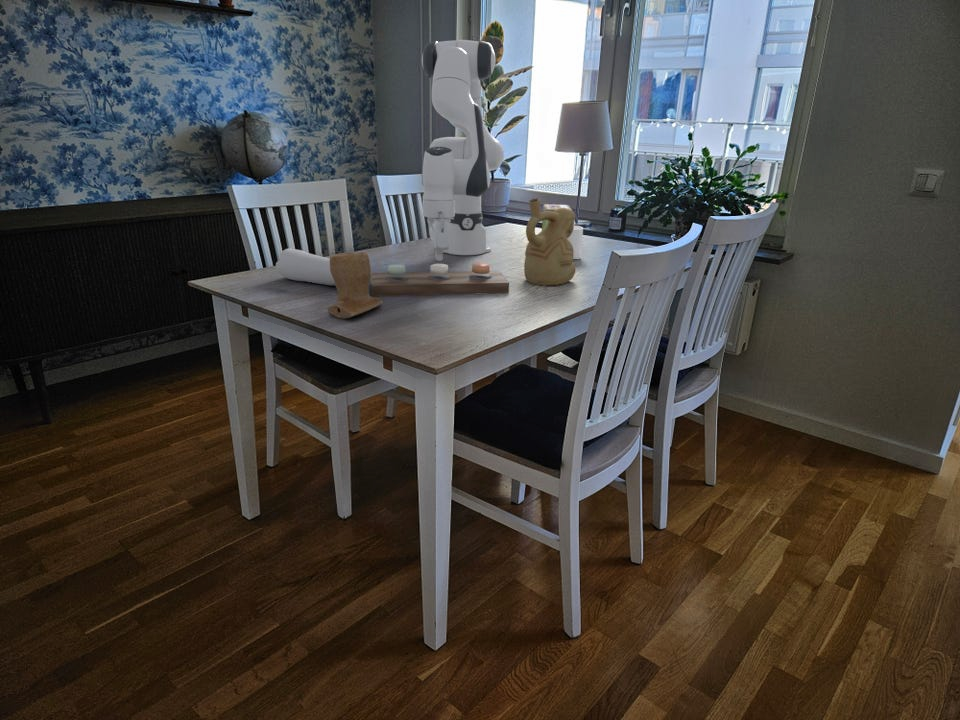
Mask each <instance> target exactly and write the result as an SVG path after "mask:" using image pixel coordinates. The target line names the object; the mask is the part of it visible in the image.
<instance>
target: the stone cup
mask: <svg viewBox="0 0 960 720" xmlns="http://www.w3.org/2000/svg"><path fill="white" fill-rule="evenodd" d="M329 259H330V271H331V274H332V277H333V279H334V282H335V285H336V286H335V288H336V290H337V293H338V294H337V295H338V299H337V301H335V302H334V303H333V304H331V305H329V306H327V307H326V310H327V311H328V312H329V313H330V314H331V315H333V316H334V317H336V318H338V319H350V318H352V317H354V316H358V315H360V314H363V313H366V312H368V311H370V310H373V309H374V308H377V307H379V306H381V305H382V304H383V303H384V301H383V300H382V299H380V298H376V297H374V296H370V293H369V287H370V284H369V281H370V276H371V277H372V273H371V271H372V270H371V262H370V257H369V255H368V253H367V252H365V251H359V252H358V251H352V252H340V253H334V254H332V255H330V257H329Z"/></svg>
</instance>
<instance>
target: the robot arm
mask: <svg viewBox="0 0 960 720" xmlns="http://www.w3.org/2000/svg"><path fill="white" fill-rule="evenodd" d="M422 51H423V52H422V56H421V64H422V69H423V72H424V74H425V76H426V77H428V78H429V79H432V84H431V102H432V103H431V104H432V106H433V107H434V109H435V111H436V112H437V113H438V114H439V115H440V117H442V118H444V119H445V120H447V121H449V122H450V124H451V125H452V126H453V127H455V128H456V129H458V130H460V131H462V133H463V134H464V135H465V137H464V136H463V137H461V136H445V137H439V138H435V139H434V140H433V141H432V142H431V143H430V145H429V147H428V149H426V150H425V151H424V154H423V162H422V169H421V184H422V185H423V194H422V216H423V217H425V218H427V224H428V233H429V237H430V239H431V241H432V243H433V245H434V253H435V259H436V261H439V262H440V261H443V258H444V257H443V256H444V253H445V254H450V255H454V256H455V255H457V256H475V255H482V254H484V253H489V252H491V250H492V249H491V247H489V246H488V245H487V229H486V227H485V226H484V225H483V224H482V223H483V212H482V195H483V194H485V193H486V192H487V191H488V190H489V187H490V184H491V171H495V170H498V169H499V168H500V167H501V165H502V164H503V161H504V157H505V156H504V155H505V154H504V152H505V151H504V148H503V145H502V144H501V142H500V141H499V140H498V139H496V138H495V137H494V136H493V135H492V134H491V133H490V131H489V130H488V129H487V127H486V125H485V122H484V118H483V110H482V109H483V108H482V86H481V82H482V81H484V80H487V79H489V78H490V77H491V76H492V75H493V72H494V70H495V67H496V53H495V51H494V47H493V46H492V44H491V43H490V42H487V41H483V40H479V41H476V40H469V39H456V40H444V41H437V40H434V41H431V42H427V44H426V45H425V46H424V47H423V50H422Z"/></svg>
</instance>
